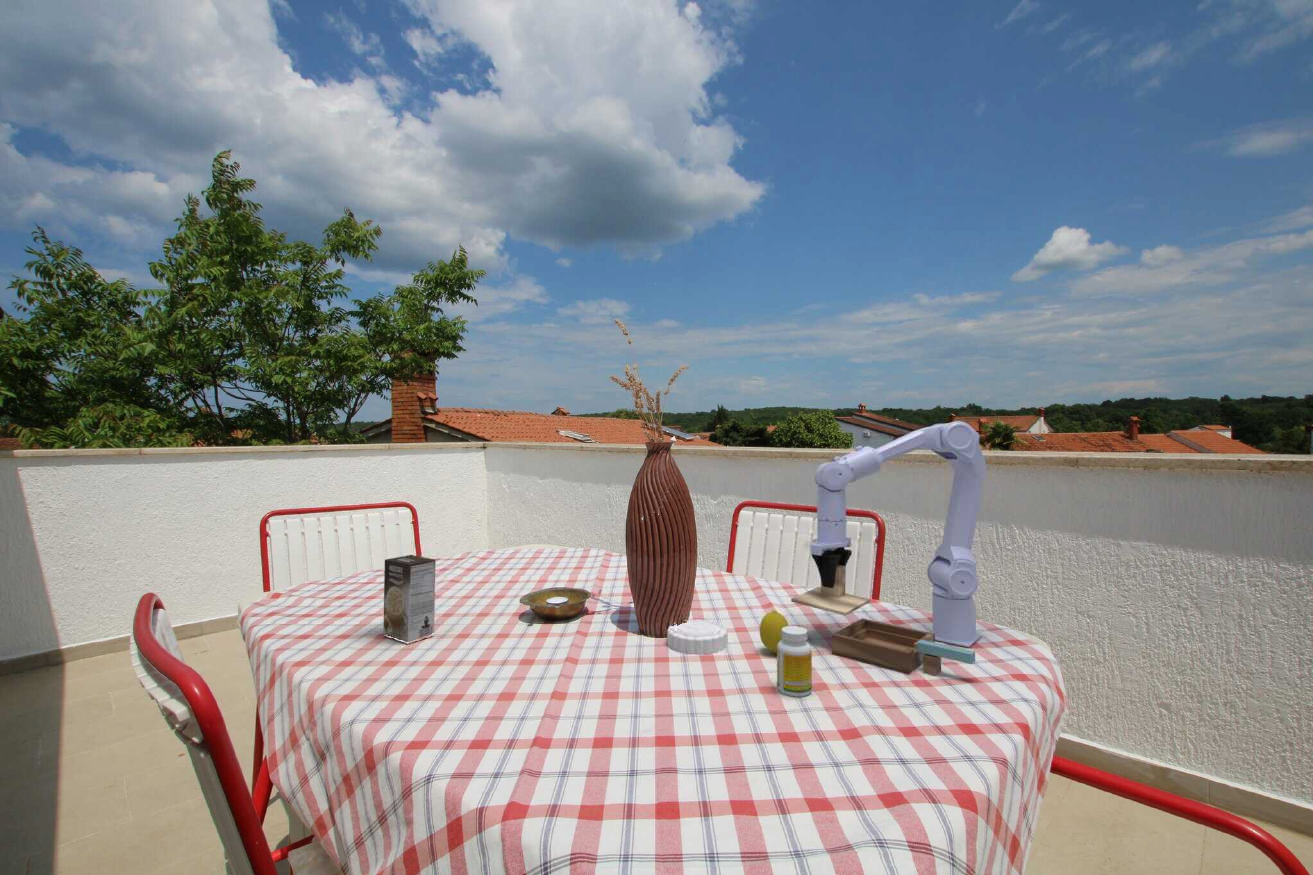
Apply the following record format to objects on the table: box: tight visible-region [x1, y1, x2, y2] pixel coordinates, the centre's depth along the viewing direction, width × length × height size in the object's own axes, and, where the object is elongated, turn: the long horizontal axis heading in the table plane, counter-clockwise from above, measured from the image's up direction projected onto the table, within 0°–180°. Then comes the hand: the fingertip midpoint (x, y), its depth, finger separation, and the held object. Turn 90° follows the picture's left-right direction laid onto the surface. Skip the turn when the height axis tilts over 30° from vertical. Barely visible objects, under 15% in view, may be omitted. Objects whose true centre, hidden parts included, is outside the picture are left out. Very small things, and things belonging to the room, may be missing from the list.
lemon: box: [759, 610, 790, 654], centre depth 103 cm, size 6×6×8 cm
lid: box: [790, 565, 871, 617], centre depth 110 cm, size 11×11×7 cm
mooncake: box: [666, 619, 729, 656], centre depth 109 cm, size 12×12×4 cm
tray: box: [830, 618, 942, 677], centre depth 102 cm, size 14×18×4 cm
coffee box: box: [382, 554, 437, 642], centre depth 113 cm, size 9×6×16 cm
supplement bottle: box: [776, 625, 813, 698], centre depth 87 cm, size 5×5×10 cm
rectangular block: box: [917, 640, 976, 665], centre depth 93 cm, size 2×8×2 cm, turn 46°
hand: (831, 585), depth 113 cm, fingers closed on lid, 3 cm apart
